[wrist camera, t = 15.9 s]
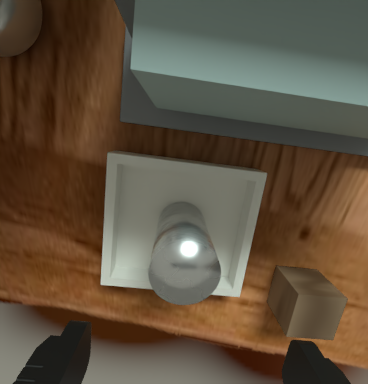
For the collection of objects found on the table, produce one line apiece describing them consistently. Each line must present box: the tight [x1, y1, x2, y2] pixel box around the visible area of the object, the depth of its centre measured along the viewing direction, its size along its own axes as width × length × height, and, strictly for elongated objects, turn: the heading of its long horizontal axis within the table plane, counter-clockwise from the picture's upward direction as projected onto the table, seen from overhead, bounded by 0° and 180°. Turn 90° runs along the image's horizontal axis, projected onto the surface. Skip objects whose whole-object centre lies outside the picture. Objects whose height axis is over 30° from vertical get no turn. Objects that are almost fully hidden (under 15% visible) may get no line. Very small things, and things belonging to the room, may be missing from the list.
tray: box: [101, 150, 267, 297], centre depth 21 cm, size 13×12×2 cm
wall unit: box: [115, 0, 368, 156], centre depth 12 cm, size 24×7×16 cm, turn 82°
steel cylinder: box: [148, 201, 221, 305], centre depth 17 cm, size 4×4×8 cm
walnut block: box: [267, 265, 348, 340], centre depth 22 cm, size 4×4×4 cm
